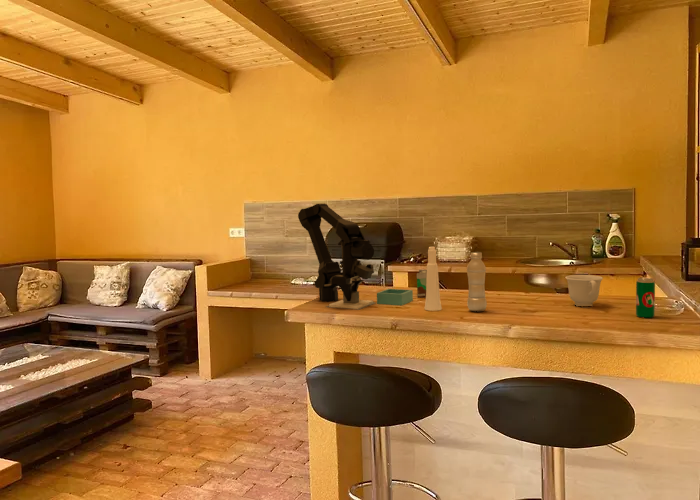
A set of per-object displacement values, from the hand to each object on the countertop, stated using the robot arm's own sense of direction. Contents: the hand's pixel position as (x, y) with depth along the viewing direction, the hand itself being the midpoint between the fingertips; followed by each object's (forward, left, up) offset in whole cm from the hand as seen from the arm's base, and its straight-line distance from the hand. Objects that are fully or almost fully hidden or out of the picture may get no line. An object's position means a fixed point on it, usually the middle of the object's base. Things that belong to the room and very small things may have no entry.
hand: (351, 300), depth 194 cm
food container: (+17, +31, -3) cm, 35 cm away
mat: (0, 0, -3) cm, 3 cm away
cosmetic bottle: (+29, +7, -3) cm, 30 cm away
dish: (+13, +10, -3) cm, 17 cm away
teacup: (+76, +29, -3) cm, 81 cm away
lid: (0, 0, -2) cm, 2 cm away
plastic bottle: (+44, +9, -3) cm, 45 cm away
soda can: (+94, +18, -3) cm, 96 cm away
